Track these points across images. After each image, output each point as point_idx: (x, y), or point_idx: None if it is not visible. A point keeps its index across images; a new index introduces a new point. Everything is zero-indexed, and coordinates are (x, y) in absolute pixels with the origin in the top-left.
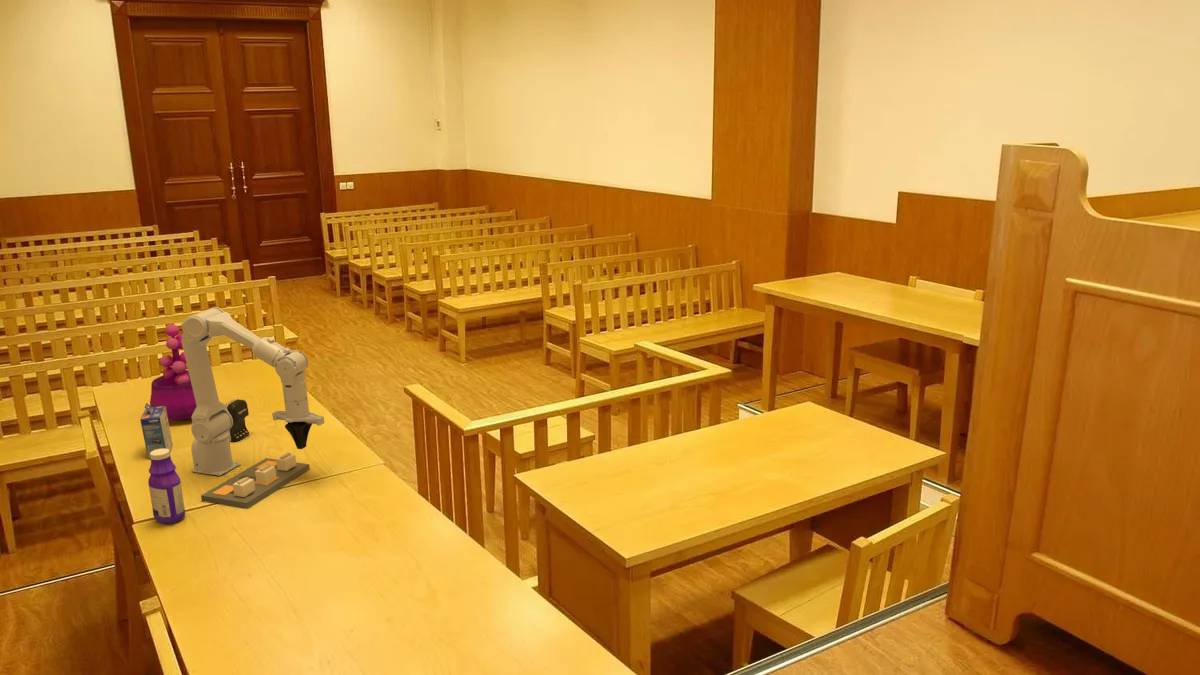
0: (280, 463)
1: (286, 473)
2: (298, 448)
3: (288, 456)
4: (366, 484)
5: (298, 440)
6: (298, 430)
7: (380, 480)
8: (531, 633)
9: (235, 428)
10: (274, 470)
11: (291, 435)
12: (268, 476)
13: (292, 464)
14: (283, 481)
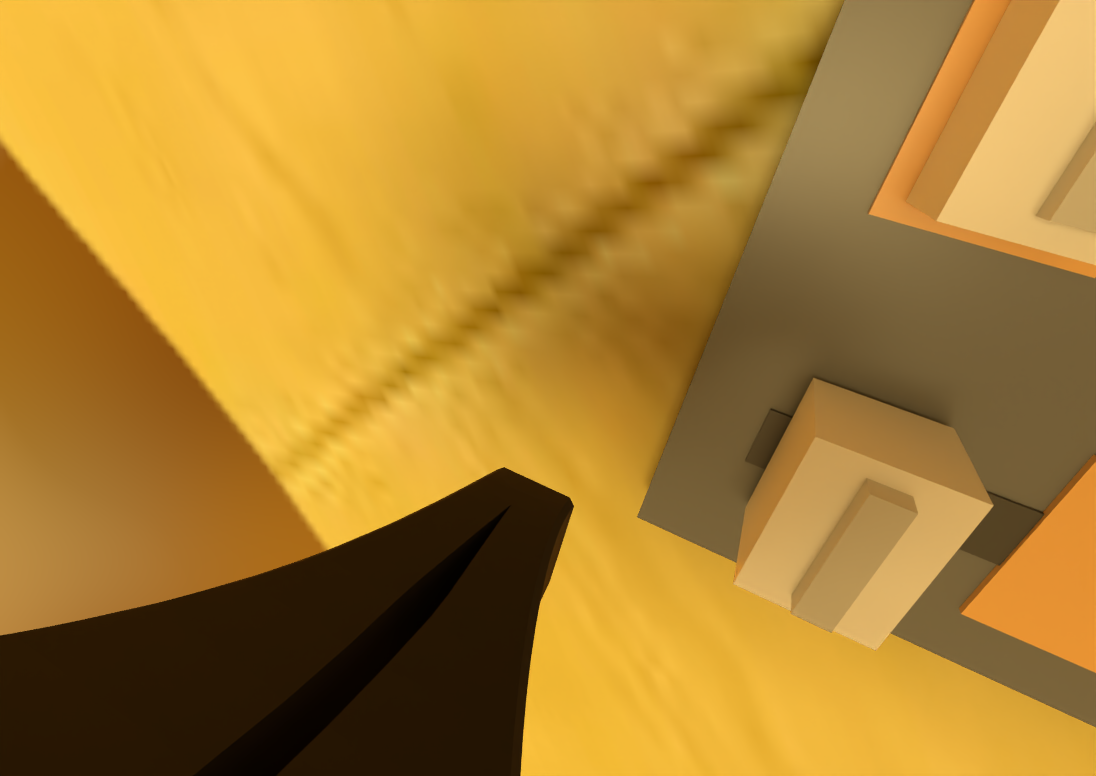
0: (903, 445)
1: (805, 334)
2: (541, 487)
3: (808, 554)
4: (177, 193)
5: (414, 546)
6: (2, 682)
7: (147, 256)
8: None
9: None
10: (939, 185)
11: (509, 711)
12: (1022, 16)
13: (766, 480)
14: (790, 140)
